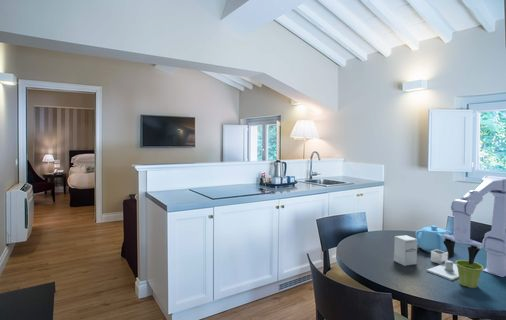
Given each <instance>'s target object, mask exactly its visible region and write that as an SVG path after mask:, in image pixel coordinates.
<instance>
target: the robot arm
mask: <svg viewBox="0 0 506 320" xmlns="http://www.w3.org/2000/svg"><path fill="white" fill-rule="evenodd" d="M488 193H490V194H492V195H493V197H494V199H493V201H494V202H493V209H492V210H493V211H492V219H491V220H492V221H491V228H490V229H491V230H490V231H487V232H486V233H484V238H483V239H482V242H479V241H476V240H473V239H471V224H472V223H471V222H472V221H471V220H472V219H471V218H472V216H471V215H473V214H474V213H475V209H477V206H478V204H480V203H481V202H482V201H483V199H484V196H485V195H487V194H488ZM450 210H451V212H452V216H453V235H450V234H448V233H447V234H448V235H447V234H443V235H442V239H444V240H445V241H443V243H444V244H445V246H446V248H447V251H448V258H449V259H452V258H454V255H455V245H456V243H458V244H462V245H467V251H468V261H469V264H473V263H474V262H475V259H476V256H477V255H478V253H479V252H480V250H481V249H484V250H485V252H486V267H485V268H483V269H482V272H485V273H488V274H491V275H494V276H498V277H501V278H504V277H506V176H495V175H487V174H486V175H484V176H483V177H482V178H481V182H480V185H478V187H476V189H474V190H473V189H472V190H471V189H470V190H468V192H466V193H465V194H464V195H463V196H462V197H460V198H457V199H454V200H452V202H451V205H450ZM468 246H469V247H468Z"/></svg>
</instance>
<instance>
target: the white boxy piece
mask: <svg viewBox="0 0 506 320" xmlns="http://www.w3.org/2000/svg"><path fill="white" fill-rule="evenodd" d="M448 258H449V254H448V252H444V251H440V250H438V249H436V250H433V251H431V253H430V262H432V263H435V264H438V265H442V264H444V263H445V261H447V260H448V261H449V259H448Z"/></svg>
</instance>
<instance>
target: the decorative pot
mask: <svg viewBox="0 0 506 320" xmlns="http://www.w3.org/2000/svg"><path fill="white" fill-rule="evenodd" d="M448 233H449V234H448ZM443 234H447V235H453V236H454V233H452V231H450V230H449V229H447V230H445V229H443V228H440V227H438V225H430V226H425V227H422V228H421V229H417V230H416V231H415V235H414V236H415V239H417V246H419V248H420V249H422V250H424V251H425V252H427V253H428V254H429V253H430V254H431V251H433V250H436V249H438V250H440V251H444V252H448V251H447V248H446V246H445V244H444V243H443V241H445V240H444V239H442V235H443Z"/></svg>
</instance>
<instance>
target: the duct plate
mask: <svg viewBox="0 0 506 320" xmlns="http://www.w3.org/2000/svg"><path fill="white" fill-rule="evenodd" d="M426 272H428V273H430V274H434V275H435V276H439V277H441V278H444V279H446V280H449V281H454V280H457V279H459V274H458V267H457V264H456V263H454V262H453V261H451V260H449V259H448V260H447V261H445V263H444V264H442V265H440V264H438V265H436V266H434V267H430V268H428V269H426Z"/></svg>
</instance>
